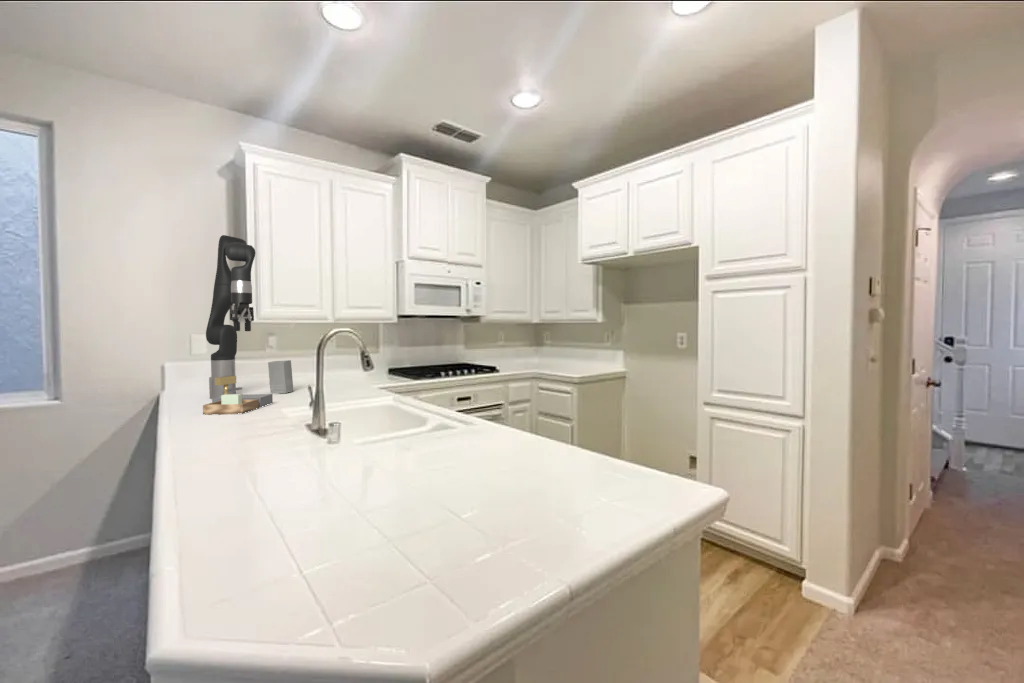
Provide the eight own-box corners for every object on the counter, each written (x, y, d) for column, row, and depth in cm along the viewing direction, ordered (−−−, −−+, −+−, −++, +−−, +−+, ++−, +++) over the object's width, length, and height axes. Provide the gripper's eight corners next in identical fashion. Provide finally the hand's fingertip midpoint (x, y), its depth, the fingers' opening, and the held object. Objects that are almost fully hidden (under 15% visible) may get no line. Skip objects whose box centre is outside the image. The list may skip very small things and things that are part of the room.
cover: (238, 410, 161) (238, 395, 161) (215, 411, 160) (215, 396, 160) (247, 407, 167) (246, 393, 167) (225, 408, 166) (224, 393, 166)
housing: (212, 408, 169) (212, 398, 169) (227, 404, 179) (226, 394, 179) (260, 407, 171) (260, 397, 171) (272, 403, 181) (272, 393, 181)
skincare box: (293, 392, 217) (293, 360, 216) (284, 394, 209) (284, 361, 209) (277, 391, 217) (276, 360, 217) (268, 394, 210) (267, 361, 210)
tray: (203, 414, 157) (202, 405, 157) (221, 409, 169) (221, 400, 169) (242, 413, 158) (242, 404, 158) (258, 408, 170) (258, 399, 170)
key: (220, 397, 170) (220, 377, 170) (215, 397, 171) (214, 377, 171) (243, 392, 182) (242, 374, 182) (238, 392, 182) (237, 374, 182)
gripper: (241, 290, 175) (242, 331, 176) (259, 293, 190) (260, 331, 190) (222, 290, 175) (223, 331, 175) (241, 293, 189) (242, 331, 189)
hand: (242, 331), depth 183 cm, fingers open, 8 cm apart
